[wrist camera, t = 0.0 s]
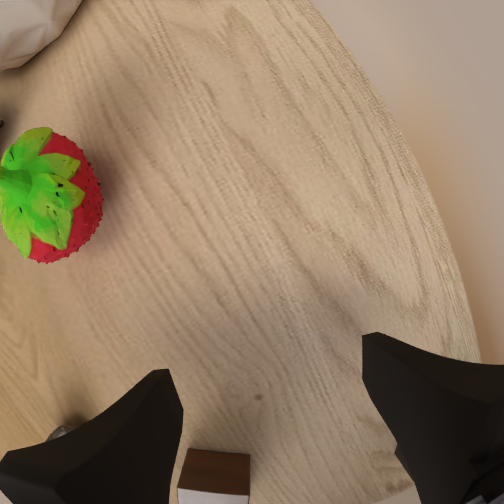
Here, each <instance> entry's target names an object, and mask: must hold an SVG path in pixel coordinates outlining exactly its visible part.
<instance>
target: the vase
mask: <svg viewBox="0 0 504 504" xmlns="http://www.w3.org/2000/svg"><path fill="white" fill-rule="evenodd" d="M81 2H82V0H0V72H1V71H3V70H5V69H7V68H18V67H20V66H22V65H24V64H25V63H26V62H27V61H29V60H30V59H31V58H32V57H34V56H35V55H36V54H37V53H38V52H40V51H41V50H42V49H43V48H44V47H46V46H47V45H49V44H50V43H51V42H52V41H54V40H55V39H56V38H57V37H59V36H60V34H61V33H62V31H63V30H64V28H65V27H66V25H67V24H68V22H69V20H70V19H71V17H72V16H73V14H74V13H75V11H76V10H77V8H78V7H79V5H80V3H81Z"/></svg>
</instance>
